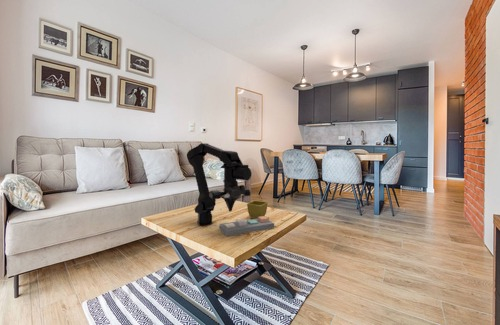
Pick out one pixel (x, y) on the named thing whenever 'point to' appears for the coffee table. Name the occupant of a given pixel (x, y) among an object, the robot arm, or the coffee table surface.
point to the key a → (229, 225)
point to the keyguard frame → (245, 228)
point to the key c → (252, 222)
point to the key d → (263, 219)
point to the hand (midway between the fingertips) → (230, 211)
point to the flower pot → (257, 209)
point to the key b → (241, 222)
